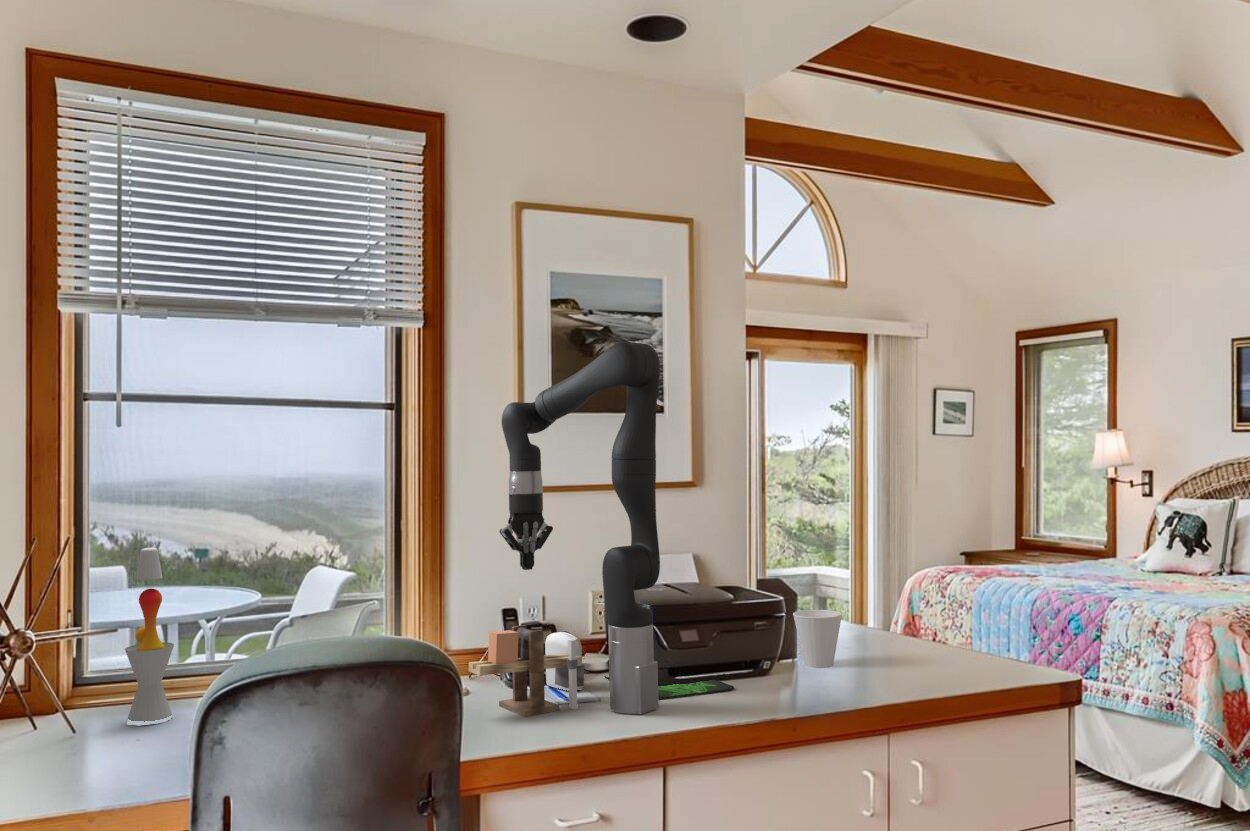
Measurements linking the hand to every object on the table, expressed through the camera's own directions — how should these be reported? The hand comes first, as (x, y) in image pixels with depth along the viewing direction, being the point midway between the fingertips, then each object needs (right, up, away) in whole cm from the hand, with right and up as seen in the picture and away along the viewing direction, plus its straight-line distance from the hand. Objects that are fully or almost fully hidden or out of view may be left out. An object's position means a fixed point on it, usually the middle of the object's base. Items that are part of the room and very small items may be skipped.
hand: (527, 569), depth 220 cm
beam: (+2, -23, -15) cm, 27 cm away
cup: (+69, -27, +20) cm, 76 cm away
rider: (-3, -16, -18) cm, 24 cm away
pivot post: (+2, -26, -15) cm, 30 cm away
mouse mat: (+31, -27, +5) cm, 42 cm away
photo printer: (+8, -27, +2) cm, 28 cm away
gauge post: (+11, -26, -16) cm, 33 cm away
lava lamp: (-75, -28, -18) cm, 82 cm away
